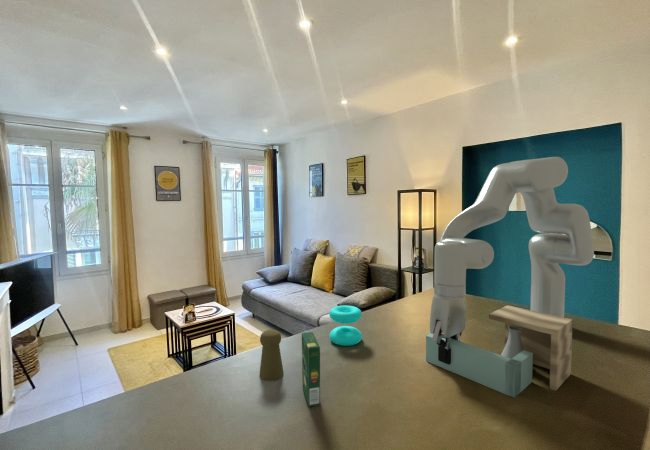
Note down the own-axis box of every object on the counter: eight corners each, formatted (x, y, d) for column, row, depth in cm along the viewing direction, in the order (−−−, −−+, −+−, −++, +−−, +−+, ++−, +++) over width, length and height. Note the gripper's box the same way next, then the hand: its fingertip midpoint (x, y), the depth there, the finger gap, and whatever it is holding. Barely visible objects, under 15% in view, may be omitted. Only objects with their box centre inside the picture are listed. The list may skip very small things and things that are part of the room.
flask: (535, 373, 80) (536, 334, 79) (503, 371, 82) (504, 332, 81) (523, 360, 87) (524, 323, 87) (494, 357, 89) (495, 322, 88)
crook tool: (446, 350, 93) (446, 326, 93) (532, 382, 76) (532, 352, 76) (425, 361, 87) (426, 335, 87) (514, 398, 70) (515, 366, 70)
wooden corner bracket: (506, 353, 91) (507, 305, 90) (570, 374, 80) (572, 319, 79) (488, 365, 84) (488, 314, 83) (555, 390, 73) (557, 330, 72)
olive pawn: (287, 370, 83) (286, 328, 83) (276, 382, 78) (275, 337, 77) (266, 366, 85) (265, 325, 85) (254, 378, 79) (253, 334, 79)
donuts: (365, 306, 103) (356, 316, 94) (365, 336, 104) (356, 349, 95) (335, 302, 107) (324, 312, 98) (336, 332, 108) (324, 344, 99)
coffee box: (321, 406, 68) (320, 345, 67) (308, 408, 67) (307, 347, 67) (314, 385, 76) (313, 331, 75) (302, 387, 75) (301, 332, 75)
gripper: (453, 282, 91) (452, 346, 92) (417, 292, 80) (417, 364, 82) (479, 287, 85) (478, 355, 86) (445, 298, 75) (444, 376, 76)
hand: (448, 359), depth 84 cm, fingers closed on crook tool, 3 cm apart
